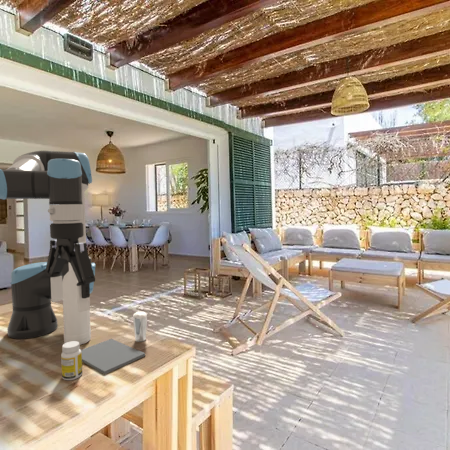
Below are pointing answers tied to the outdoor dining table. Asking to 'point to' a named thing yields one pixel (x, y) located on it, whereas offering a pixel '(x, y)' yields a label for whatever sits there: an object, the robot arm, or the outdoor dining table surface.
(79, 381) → the outdoor dining table surface
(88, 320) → the bottle
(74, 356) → the supplement bottle
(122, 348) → the slate mat
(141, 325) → the milkshake
